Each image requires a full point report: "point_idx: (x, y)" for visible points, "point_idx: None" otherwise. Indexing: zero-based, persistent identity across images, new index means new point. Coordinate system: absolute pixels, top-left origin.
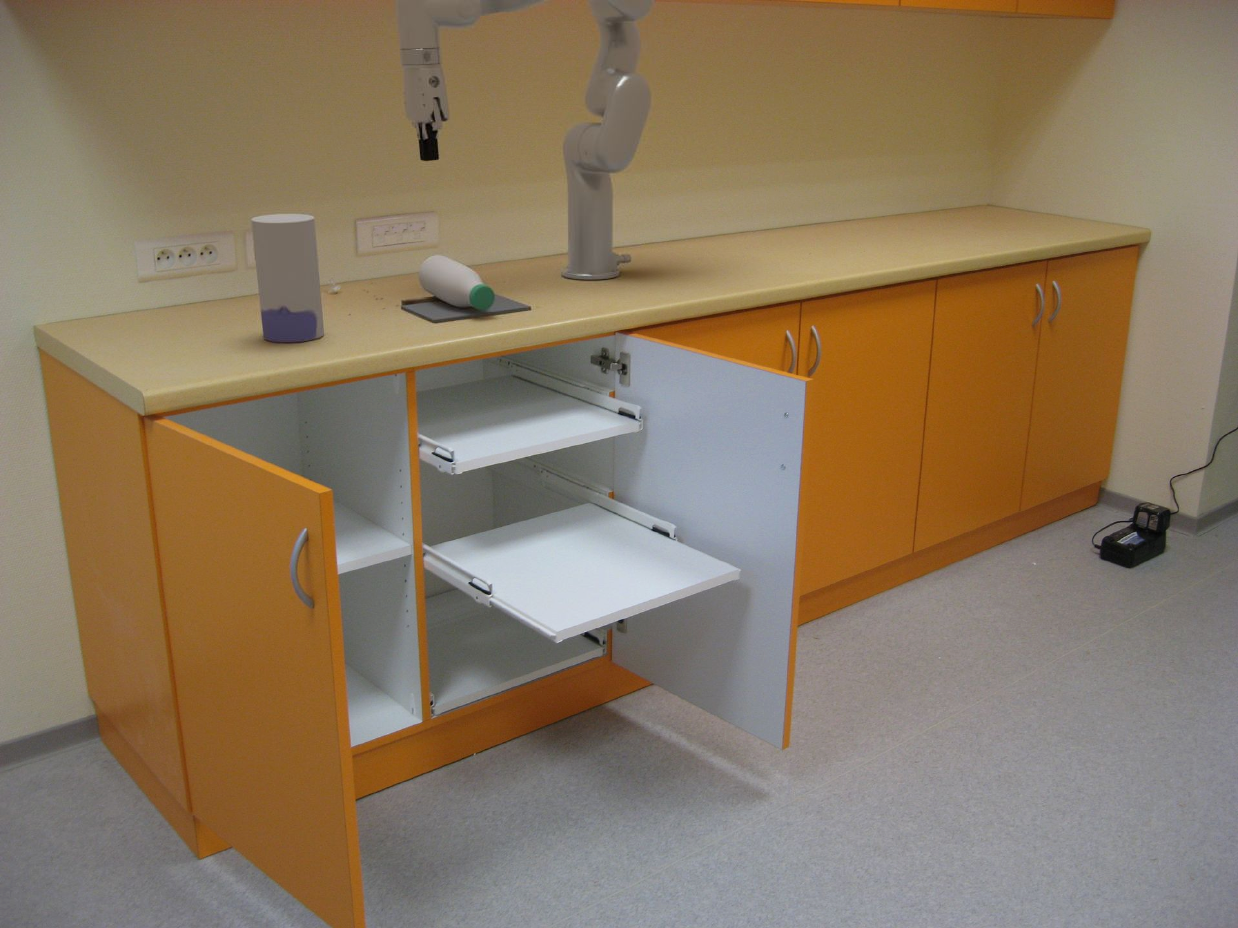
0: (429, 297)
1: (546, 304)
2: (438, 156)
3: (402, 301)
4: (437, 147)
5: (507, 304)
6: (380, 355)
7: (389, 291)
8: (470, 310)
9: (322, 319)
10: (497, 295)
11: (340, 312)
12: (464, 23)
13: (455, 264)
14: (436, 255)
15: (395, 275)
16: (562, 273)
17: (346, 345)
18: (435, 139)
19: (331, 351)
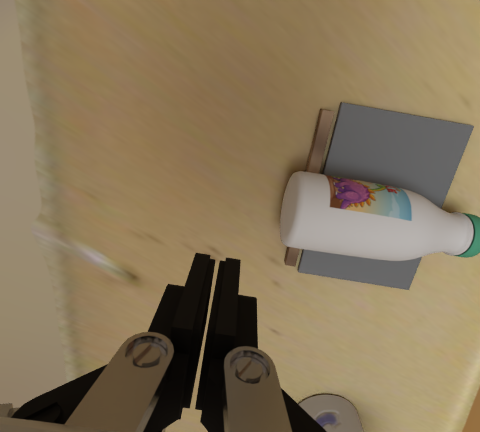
0: None
1: (464, 70)
2: (239, 267)
3: (289, 265)
4: (236, 298)
5: (426, 145)
6: (469, 402)
7: (171, 211)
8: None
9: (353, 417)
10: (357, 109)
11: None
12: None
13: (389, 238)
14: (305, 225)
15: (41, 120)
16: None
17: (404, 404)
18: (231, 343)
19: (411, 423)
